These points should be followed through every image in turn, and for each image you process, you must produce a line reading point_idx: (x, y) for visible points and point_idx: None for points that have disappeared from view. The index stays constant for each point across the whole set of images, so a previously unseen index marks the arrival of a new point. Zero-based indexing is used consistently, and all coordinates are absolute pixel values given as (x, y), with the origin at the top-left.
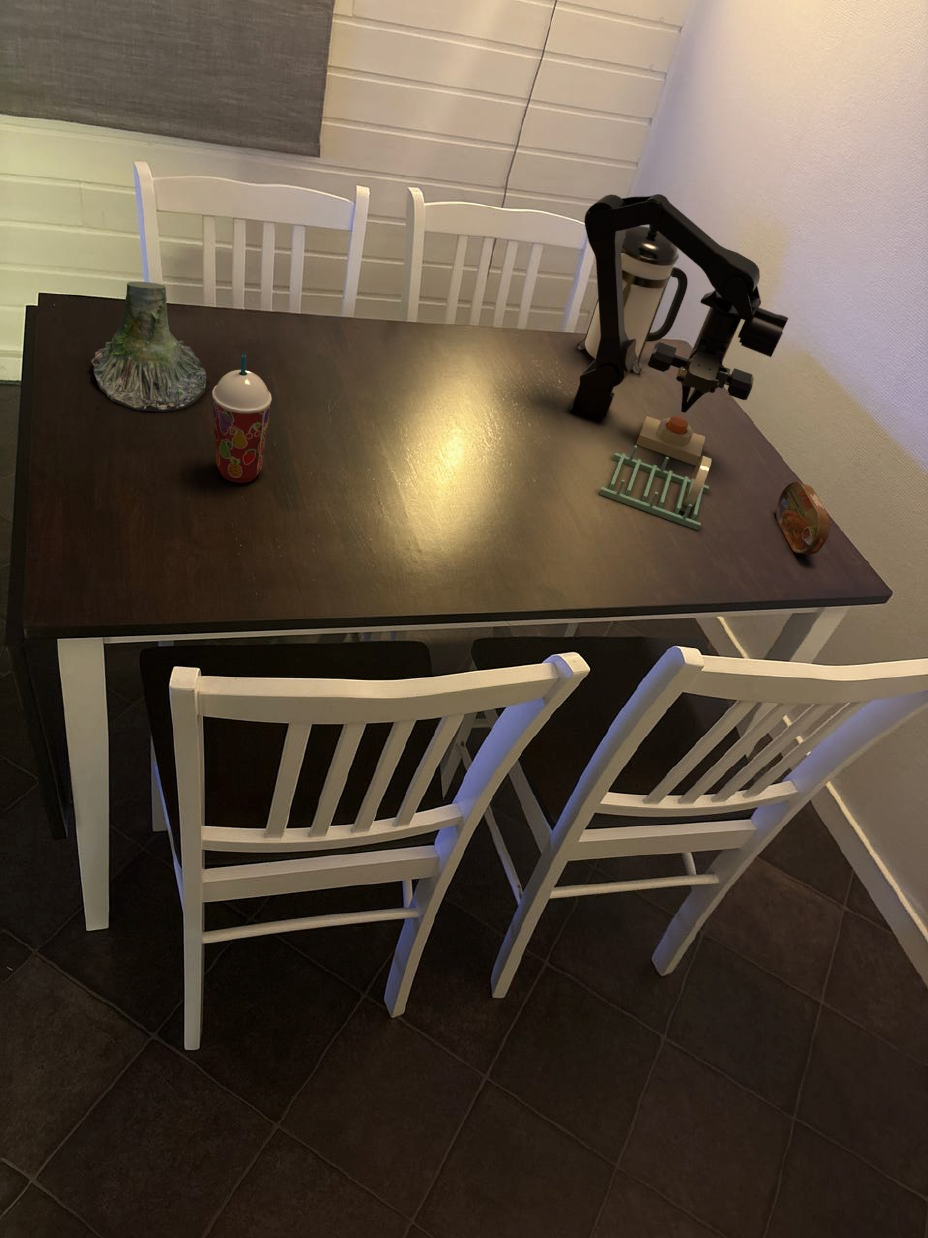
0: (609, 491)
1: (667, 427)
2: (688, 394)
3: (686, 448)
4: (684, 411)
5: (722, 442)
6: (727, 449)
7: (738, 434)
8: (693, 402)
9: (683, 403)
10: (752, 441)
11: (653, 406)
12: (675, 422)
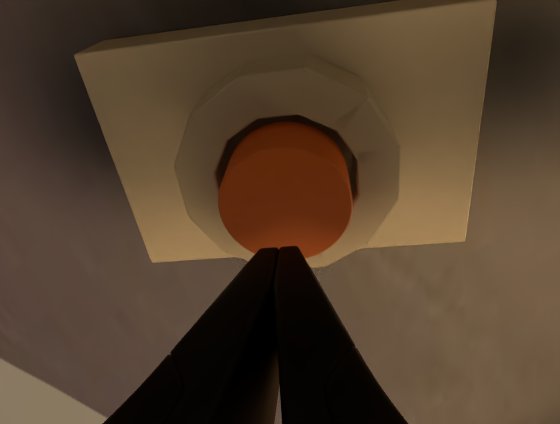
0: None
1: (340, 153)
2: (284, 392)
3: (177, 81)
4: (269, 250)
5: (118, 308)
6: (80, 279)
7: (104, 377)
8: (198, 330)
9: (304, 291)
10: (51, 370)
11: (420, 355)
12: (304, 180)
